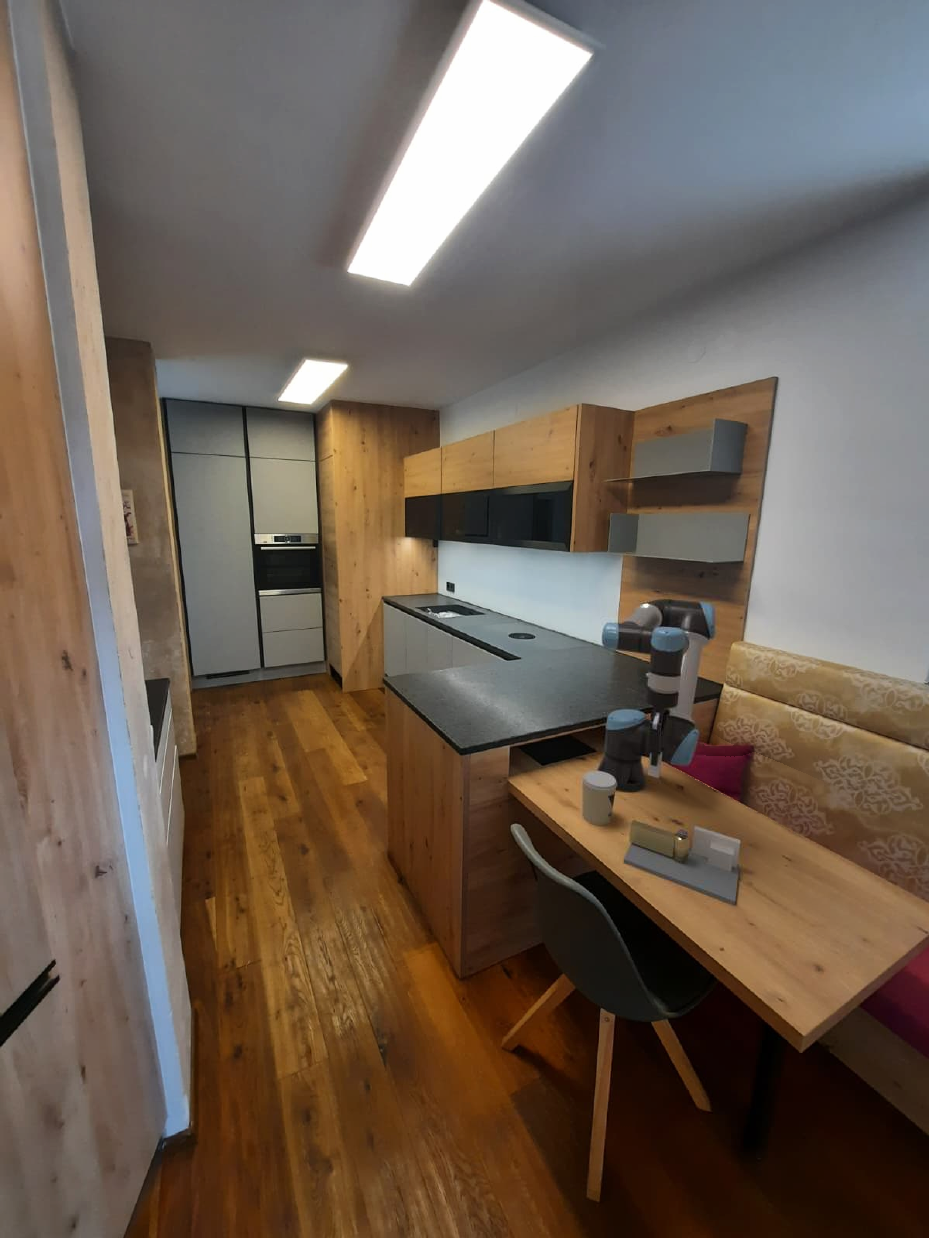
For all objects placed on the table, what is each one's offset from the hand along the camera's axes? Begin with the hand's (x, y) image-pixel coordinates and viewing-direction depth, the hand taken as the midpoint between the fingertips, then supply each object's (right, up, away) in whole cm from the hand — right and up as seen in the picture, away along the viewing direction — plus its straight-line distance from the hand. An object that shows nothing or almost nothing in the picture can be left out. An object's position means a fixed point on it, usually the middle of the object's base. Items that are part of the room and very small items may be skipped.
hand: (653, 775), depth 125 cm
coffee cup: (-12, -16, +11) cm, 23 cm away
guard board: (+4, -20, -8) cm, 21 cm away
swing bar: (-1, -17, -4) cm, 18 cm away
